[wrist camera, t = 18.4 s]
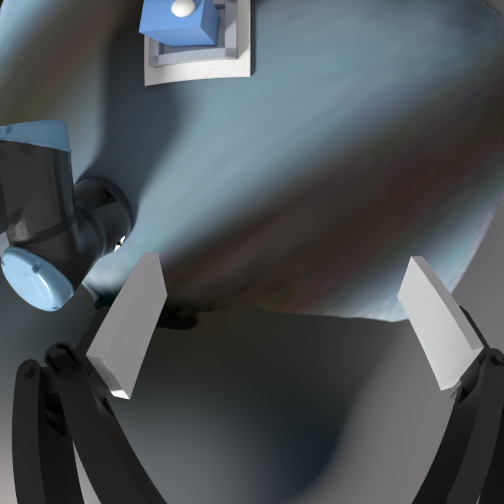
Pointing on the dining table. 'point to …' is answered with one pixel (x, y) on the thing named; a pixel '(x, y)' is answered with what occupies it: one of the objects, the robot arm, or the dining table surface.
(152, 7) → the blue drink carton
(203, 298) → the dining table surface
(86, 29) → the dining table surface
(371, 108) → the dining table surface
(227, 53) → the white square socket base
